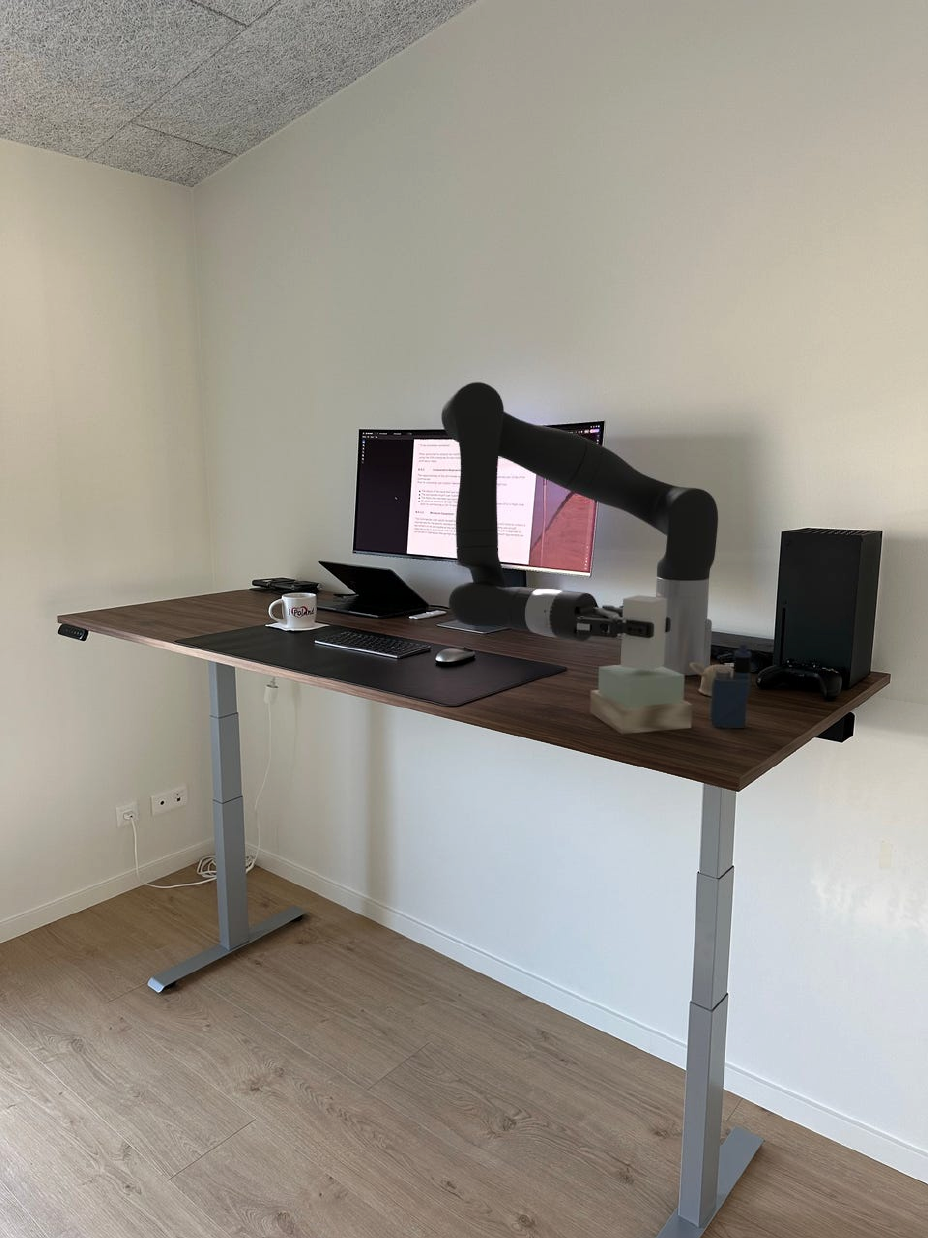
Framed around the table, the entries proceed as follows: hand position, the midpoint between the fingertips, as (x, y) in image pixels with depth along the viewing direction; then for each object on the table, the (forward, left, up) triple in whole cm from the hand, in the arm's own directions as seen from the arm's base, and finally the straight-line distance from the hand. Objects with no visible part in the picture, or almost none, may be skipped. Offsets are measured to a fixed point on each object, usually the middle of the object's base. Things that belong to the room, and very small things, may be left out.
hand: (660, 627), depth 122 cm
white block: (+2, -2, -6) cm, 7 cm away
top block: (+1, -3, -11) cm, 11 cm away
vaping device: (-9, +4, -15) cm, 18 cm away
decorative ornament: (-17, -12, -15) cm, 25 cm away
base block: (+2, -3, -15) cm, 15 cm away
